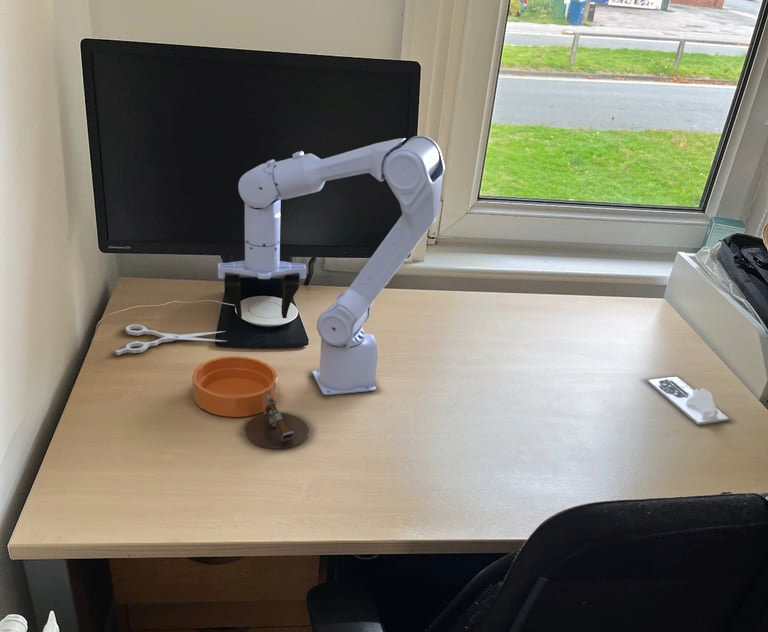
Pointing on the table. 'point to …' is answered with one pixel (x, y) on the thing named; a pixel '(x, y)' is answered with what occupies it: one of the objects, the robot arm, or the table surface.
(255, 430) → the coaster
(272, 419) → the wooden post with brackets
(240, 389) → the bowl
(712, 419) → the white piece
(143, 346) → the scissors
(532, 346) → the table surface
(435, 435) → the table surface
